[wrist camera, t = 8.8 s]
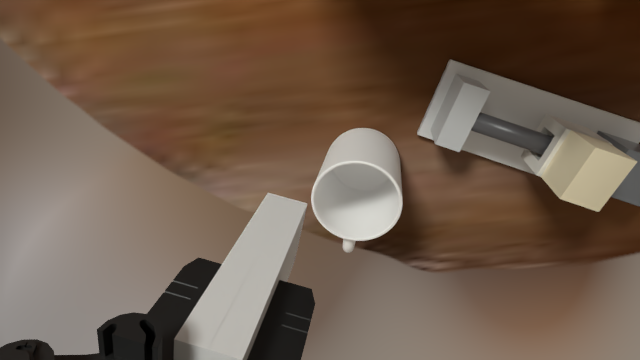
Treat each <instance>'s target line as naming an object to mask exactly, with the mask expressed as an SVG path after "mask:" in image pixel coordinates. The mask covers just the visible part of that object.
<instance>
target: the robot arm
mask: <svg viewBox="0 0 640 360" xmlns="http://www.w3.org/2000/svg"><path fill="white" fill-rule="evenodd" d="M307 204H308V203H304V202H300V201H297V200H293V199H289V198H286V197H282V196H278V195H275V194H271V193H267V195H266V197H265V198H264V200H263V201H262V203H261V204H260V206H259V207H258V209H257V211H256V212H255V214H254V215H253V217H252V218H251V220H250V222H249V223H248V225H247V226H246V228H245V229H244V231H243V233H242V234H241V236H240V237H239V239H238V240H237V242H236V243H235V245H234V247H233V248H232V250H231V251H230V253H229V254H228V256H227V257H226V259H225V260H224V262H223V264H219V263H216V262H212V261H209V260H205V259H201V258H197V259H196V260H194V261H192V262H191V263H189V264H187V265H186V266H184V267H183V268H182V270H181V271H180V272H179V274H178V275H177V276H176V277H175V279H174V281H173V282H171V284H170V285H169V286H168V288H167V289H166V290H165V293H163V294H162V295H161V297H160V298H159V299H158V301H157V302H156V303H155V304H154V306H153V307H152V308H151V309H150V311H149V312H148V313H147V314H141V313H129V314H123V315H119V316H117V317H115V318H113V319H110V320H108V321H107V322H105V323H104V324H103V325H102V326H101V327H99V328H98V329H97V334H98V343H99V352H100V353H97V354H89V355H54V351H53V350H52V348H51V347H50V346H49V345H48V344H47V343H45V342H42V341H39V340H20V341H17V342H13V343H9V344H6V345H4V346H3V347H1V348H0V360H301V357H302V353H303V349H304V345H305V341H306V337H307V333H308V329H309V326H310V322H311V318H312V314H313V310H314V306H315V302H314V297H313V293H312V289H309V288H306V287H302V286H299V285H296V284H292V283H288V282H287V280H288V277H289V275H290V272H291V269H292V267H293V264H294V261H295V257H296V253H297V248H298V244H299V239H300V235H301V230H302V226H303V222H304V217H305V213H306V208H307Z"/></svg>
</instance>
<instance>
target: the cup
mask: <svg viewBox="0 0 640 360" xmlns="http://www.w3.org/2000/svg"><path fill="white" fill-rule="evenodd" d="M311 203H312V208H313V211H314V214H315V216H316V218H317V219H318V221H319V222H320V223H321V224H322V226H323V227H324V228H326V229H327V230H328V231H329V232H331V233H332V234H334V235H336V236H338V237H341V238H343V249H344V251H345V252H348V253H349V252H352V250H353V249H354V246H355V241H366V240H371V239H375V238H377V237H380V236H382V235H383V234H385V233H387V232H388V231H389V230H390V229H391V228H392V227H393V226H394V225H395V224H396V222H397V221H398V219H399V217H400V215H401V212H402V206H403V200H402V183H401V167H400V158H399V154H398V151H397V149H396V147H395V145H394V143H393V142H392V141H391V140H390V139H389V138H388V137H387V136H386V135H384V134H383V133H381V132H379V131H377V130H374V129H369V128H356V129H352V130H349V131H347V132H345V133H343V134H341V135H340V136H339V137H338V138H337V139H336V140H335V141H334V142H333V143H332V145H331V146H330V148H329V150H328V153H327V155H326V157H325V160H324V162H323V165H322V167H321V169H320V172H319V174H318V177H317V179H316V182H315V184H314V186H313V190H312V194H311Z"/></svg>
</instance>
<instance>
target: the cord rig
mask: <svg viewBox="0 0 640 360" xmlns="http://www.w3.org/2000/svg"><path fill="white" fill-rule="evenodd" d="M546 114H548V115H551V116H554V117H557V118H560V119H563V120H566V121H569V122H572V123H575V124H578V125H581V126H584V127H587V128H589V129H590V130H592V131H593V132H595V133H596V134H598V135H599V136H601V137H603V138H604V139H606V140H607V141H609V142H610V143H612V145H613V146H614V147H616V148H617V149H619V150H620V151H622V152H624V153H625V154H627V155H628V156H630V157H631V158H633V159H634V160H636V161H637V163H636V164H635V166H634V167H633V168H632V170H631V171H630V172H629V173H628V175H627V176H626V177H625V179H624V180H623V181H622V183H621V184H620V185H619V186H618V188H617V189H616V190H615V192H614V193H613V194H612V195H611V197H613V198H616V199H619V200H622V201H625V202H628V203H631V204H634V205H637V206H640V144H639V142H640V122H637V121H634V120H631V119H628V118H625V117H622V116H619V115H616V114H613V113H610V112H607V111H604V110H601V109H598V108H595V107H592V106H589V105H586V104H583V103H580V102H577V101H574V100H571V99H568V98H565V97H562V96H559V95H556V94H553V93H550V92H547V91H544V90H541V89H538V88H535V87H532V86H529V85H526V84H523V83H520V82H517V81H514V80H511V79H508V78H505V77H502V76H499V75H496V74H493V73H490V72H487V71H484V70H481V69H478V68H475V67H472V66H469V65H466V64H463V63H460V62H457V61H454V60H451V59H449V61H448V63H447V66H446V68H445V70H444V72H443V75H442V77H441V79H440V81H439V84H438V86H437V88H436V91H435V93H434V95H433V97H432V100H431V102H430V104H429V106H428V109H427V111H426V113H425V115H424V118H423V120H422V122H421V124H420V127H419V129H418V131H417V135H420V136H423V137H426V138H429V139H432V140H434V143H435V144H436V145H439V146H442V147H445V148H448V149H451V150H454V151H457V152H460V150H464V151H467V152H470V153H473V154H476V155H479V156H482V157H485V158H488V159H491V160H494V161H496V162H499V163H502V164H505V165H508V166H511V167H514V168H517V169H520V170H523V171H526V172H529V173H532V174H535V173H534V172H533V171H532V169H531V168H530V167H529V166H528V165H527V163H526V162H525V161H524V160H523V159H522V157H521V155H522V153H523V151H524V150H525V149H527V150H530V151H533V152H536V153H539V154H542V155H543V154H544V152H545V150H546V149H547V147H548V146H549V144H550V143H551V141H552V139H553V138H554V137H552V136H549V135H547V134H544V133H541V132H538V131H536V130H537V128H538V126H539V125H540V123H541V121H542V120H543V118H544V116H545V115H546ZM535 175H536V174H535Z"/></svg>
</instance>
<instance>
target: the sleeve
mask: <svg viewBox="0 0 640 360" xmlns="http://www.w3.org/2000/svg"><path fill="white" fill-rule="evenodd" d="M536 131H538V132H541V133H544V134H547V135H549V136H552V137H554V138H553V139H552V141H551V143H550V144H549V146H548V147H547V149H546V150H545V152H544V154H543V155H542V154H539V153H536V152H533V151H530V150H527V149H525V150H524V151H523V153H522V155H521V157H522V159H523V160H524V161H525V162H526V163H527V165H528V166H529V167H530V168H531V169H532V171H533V172H534V173H535V174H536V175H537V176H540V177H541V178H542V179H543V180H544V181H545V182H546V183H547V185H548V186H549V187H550V188H551V189H552V190H553V192H554V193H555V194H556V195H557V196H558V197H559V199H562V200H564V201H567V202H570V203H573V204H576V205H579V206H582V207H585V208H588V209H591V210H594V211H597V212H599V211H600V210H601V208H602V207H603V206H604V205H605V203H606V202H607V201H608V199H609V198H610V197H611V195H612V194H613V193H614V192H615V190H616V189H617V188H618V186H619V185H620V184H621V183H622V181H623V180H624V179H625V177H626V176H627V175H628V173H629V172H630V171H631V170H632V168H633V167H634V166H635V164H636V163H637V161H636V160H634V159H633V158H631V157H630V156H628V155H627V154H625V153H624V152H622V151H620V150H619V149H617V148H616V147H614V146H613V145H612V143H610V142H609V141H607V140H606V139H604V138H603V137H601V136H599V135H598V134H596V133H595V132H593V131H592V130H590V129H589V128H587V127H584V126H581V125H578V124H575V123H572V122H569V121H566V120H563V119H560V118H557V117H554V116H551V115H548V114H546V115H545V116H544V118H543V120H542V121H541V123H540V125H539V126H538V128H537V130H536Z"/></svg>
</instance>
